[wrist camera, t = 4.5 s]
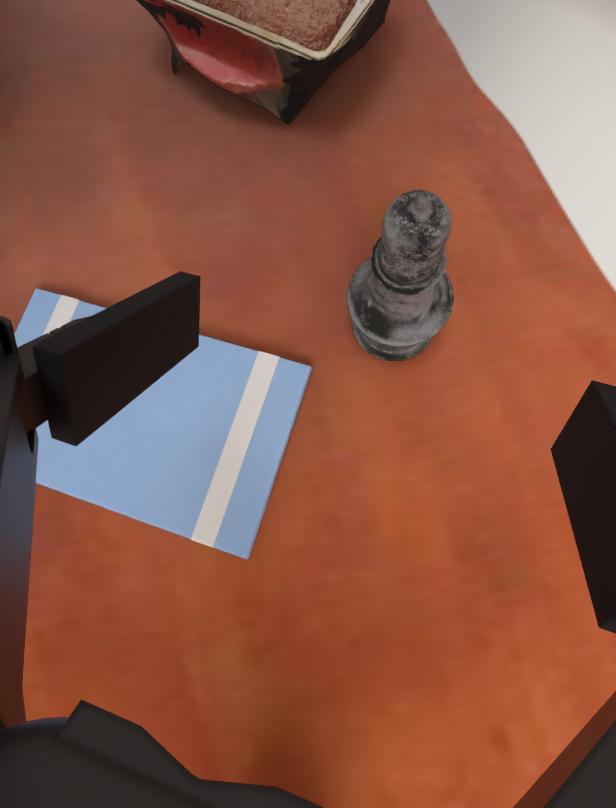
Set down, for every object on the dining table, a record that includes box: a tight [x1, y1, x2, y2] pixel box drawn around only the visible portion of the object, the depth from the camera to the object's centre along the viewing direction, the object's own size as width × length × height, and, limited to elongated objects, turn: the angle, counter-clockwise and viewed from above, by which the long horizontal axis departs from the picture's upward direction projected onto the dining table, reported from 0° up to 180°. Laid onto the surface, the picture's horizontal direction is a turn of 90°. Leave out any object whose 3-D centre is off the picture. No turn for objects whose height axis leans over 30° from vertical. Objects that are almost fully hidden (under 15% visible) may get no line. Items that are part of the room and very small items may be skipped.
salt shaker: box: [347, 190, 454, 361], centre depth 23 cm, size 6×6×12 cm
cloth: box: [14, 288, 312, 559], centre depth 28 cm, size 12×20×1 cm, turn 72°
